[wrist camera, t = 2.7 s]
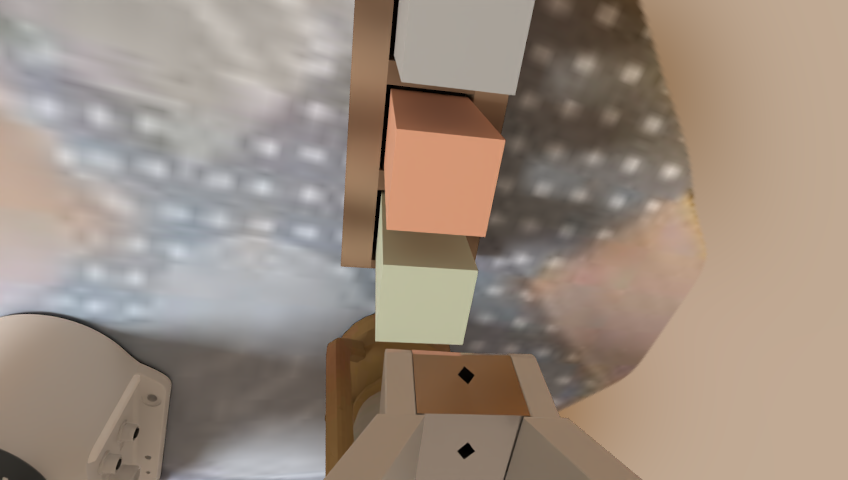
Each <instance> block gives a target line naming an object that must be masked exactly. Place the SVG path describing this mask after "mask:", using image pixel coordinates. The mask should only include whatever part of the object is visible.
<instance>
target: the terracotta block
mask: <svg viewBox="0 0 848 480" xmlns="http://www.w3.org/2000/svg"><path fill="white" fill-rule="evenodd" d="M505 141H506V140H505V139H504V138H503V137H502V135H501V134H500V133H499V132H498V131H497V130H496V129H495V127H494V126H493V125H492V124H491V123H490V122H489V121H488V119H487V118H486V117H485V116H484V115H483V114H482V113H481V111H480V110H479V109H478V108H477V107H476V106H475V105H474V103H473V102H472V101H471V100H470V99H469V98H468V97H462V96H453V95H445V94H436V93H427V92H419V91H410V90H401V89H393V88H391V92H390V103H389V114H388V125H387V136H386V147H385V158H384V178H385V204H386V229H387V230H398V231H411V232H425V233H438V234H452V235H465V236H479V237H485V236H486V231H487V227H488V222H489V217H490V212H491V208H492V203H493V198H494V193H495V188H496V184H497V179H498V174H499V169H500V165H501V160H502V155H503V150H504V146H505Z"/></svg>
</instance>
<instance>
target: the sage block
mask: <svg viewBox="0 0 848 480" xmlns="http://www.w3.org/2000/svg"><path fill="white" fill-rule="evenodd" d="M477 274H478V269H477V266H476V263H475V260H474V258H473V255H472V252H471V249H470V247H469V244H468V241H467V238H466V236H465V235H452V234H438V233H425V232H411V231H398V230H387V229H386V204H385V192H383V191H381V202H380V213H379V224H378V234H377V245H376V302H375V341H379V342H403V343H427V344H451V345H463V341H464V336H465V331H466V327H467V322H468V317H469V312H470V308H471V303H472V298H473V293H474V288H475V284H476V279H477Z"/></svg>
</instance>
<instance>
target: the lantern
mask: <svg viewBox="0 0 848 480" xmlns="http://www.w3.org/2000/svg"><path fill="white" fill-rule="evenodd" d="M386 349H400V350H410V351H411V350H425V351H441V352H450V347H449V344H427V343H403V342H379V341H375V314H372V315H370V316H367V317H365V318H363V319H361V320H360V321H358V322H356V323H355V324H354V325H353V326H352V327H351V328H350V329H349V330H348V331H347V332H346V333H345V334H344V335H343V336H342V338H337V339H335V340H334V341H332V342H330V343H329V344H328V346H327V352H326V415H325V421H326V476H327V475H328V473H329V472H330V471H331V470H332V468H333V467H334V466H335V465H336V464H337V462H338V461H339V460H340V459H341V457H342V456H343V455H344V454H345V452H346V451H347V450H348V449H349V448H350V446H351V445H352V444H353V443H354V441H355V440H356V439H357V438H358V437H359V435H360V434H361V433H362V432H363V430H364V429H365V428H366V427H367V425H368V424H369V423H370V422H371V421H372V419H373V418H374V417H375V416H376V414H379V411H380V397H381V385H382V375H383V364H384V354H385V350H386Z"/></svg>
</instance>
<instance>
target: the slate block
mask: <svg viewBox="0 0 848 480" xmlns="http://www.w3.org/2000/svg"><path fill="white" fill-rule="evenodd" d="M534 3H535V0H399V4H398V15H397V26H396V37H395V48H394V57H395V60H396V64H397V68H398V71H399V75H400V79H401V82H405V83H414V84H422V85H431V86H439V87H448V88H456V89H465V90H473V91H482V92H490V93H499V94H507V95H515V93H516V88H517V84H518V79H519V74H520V69H521V65H522V60H523V55H524V50H525V46H526V41H527V36H528V31H529V27H530V22H531V17H532V12H533V7H534Z"/></svg>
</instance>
